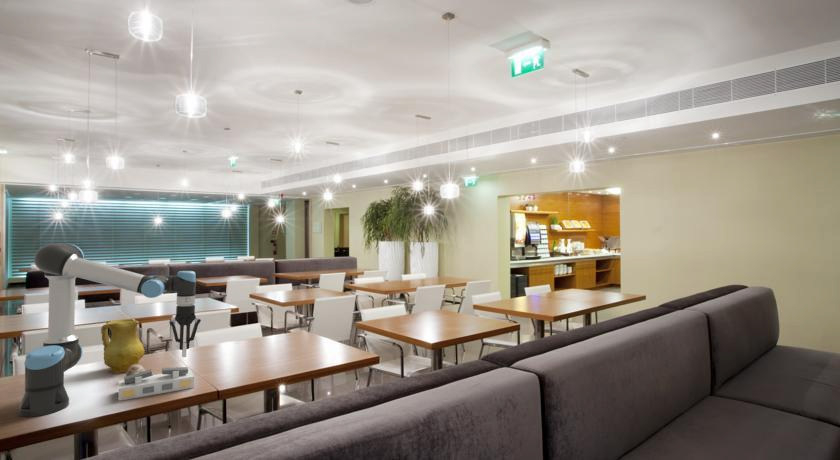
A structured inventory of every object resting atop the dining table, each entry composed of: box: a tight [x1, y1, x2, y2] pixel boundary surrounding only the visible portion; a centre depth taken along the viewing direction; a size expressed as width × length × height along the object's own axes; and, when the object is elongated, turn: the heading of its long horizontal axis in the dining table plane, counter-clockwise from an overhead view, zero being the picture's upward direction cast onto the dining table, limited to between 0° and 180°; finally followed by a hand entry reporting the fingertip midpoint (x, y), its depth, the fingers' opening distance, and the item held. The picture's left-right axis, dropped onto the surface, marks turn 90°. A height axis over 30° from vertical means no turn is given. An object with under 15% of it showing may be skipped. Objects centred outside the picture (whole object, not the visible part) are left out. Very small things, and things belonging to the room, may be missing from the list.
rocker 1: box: [123, 369, 153, 384], centre depth 189 cm, size 10×5×2 cm, turn 124°
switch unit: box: [118, 368, 195, 401], centre depth 193 cm, size 28×12×8 cm, turn 125°
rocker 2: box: [161, 366, 189, 374], centre depth 197 cm, size 10×5×2 cm, turn 125°
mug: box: [125, 363, 146, 376], centre depth 206 cm, size 8×10×10 cm
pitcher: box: [100, 318, 145, 374], centre depth 221 cm, size 17×19×25 cm
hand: (184, 356), depth 199 cm, fingers closed
